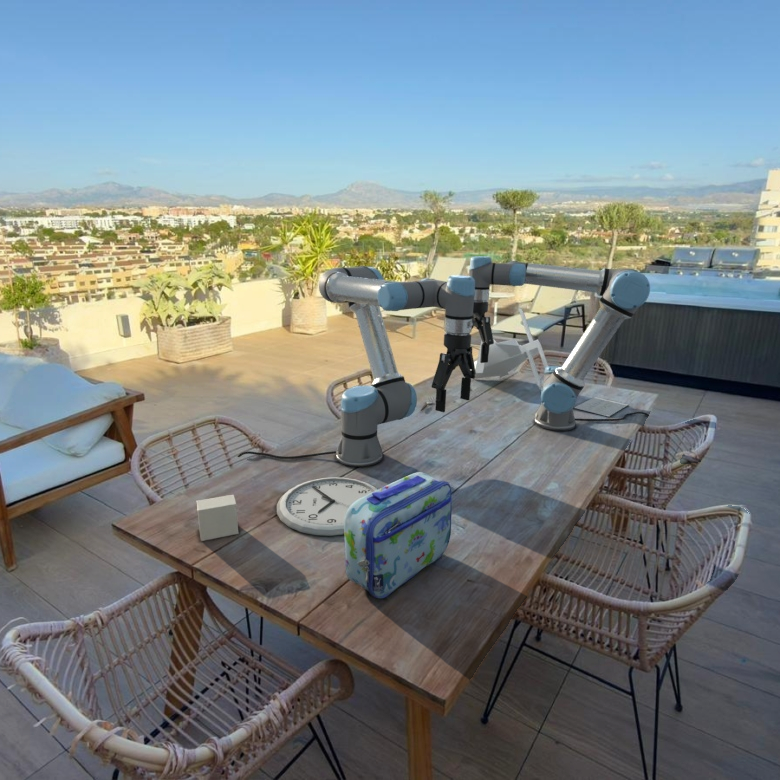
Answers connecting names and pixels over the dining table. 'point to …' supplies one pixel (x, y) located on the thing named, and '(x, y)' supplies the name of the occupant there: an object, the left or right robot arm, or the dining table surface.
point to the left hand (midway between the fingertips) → (452, 405)
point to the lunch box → (397, 532)
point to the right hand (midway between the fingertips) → (474, 358)
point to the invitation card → (601, 406)
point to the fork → (427, 403)
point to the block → (217, 517)
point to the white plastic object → (510, 356)
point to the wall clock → (321, 504)
